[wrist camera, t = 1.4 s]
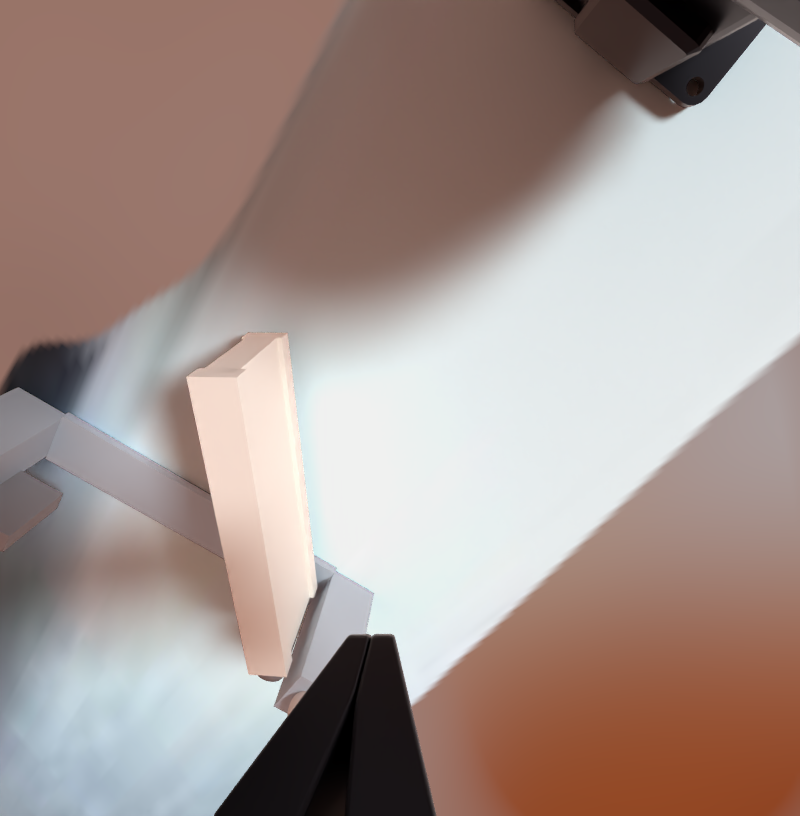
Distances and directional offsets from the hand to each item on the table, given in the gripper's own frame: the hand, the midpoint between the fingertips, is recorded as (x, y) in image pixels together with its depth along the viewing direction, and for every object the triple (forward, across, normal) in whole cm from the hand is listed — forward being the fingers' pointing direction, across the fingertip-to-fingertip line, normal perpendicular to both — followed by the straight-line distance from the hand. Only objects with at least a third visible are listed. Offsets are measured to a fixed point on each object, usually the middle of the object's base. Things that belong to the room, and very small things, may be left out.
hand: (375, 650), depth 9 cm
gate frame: (+13, +12, +6) cm, 19 cm away
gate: (+12, +6, +4) cm, 14 cm away
